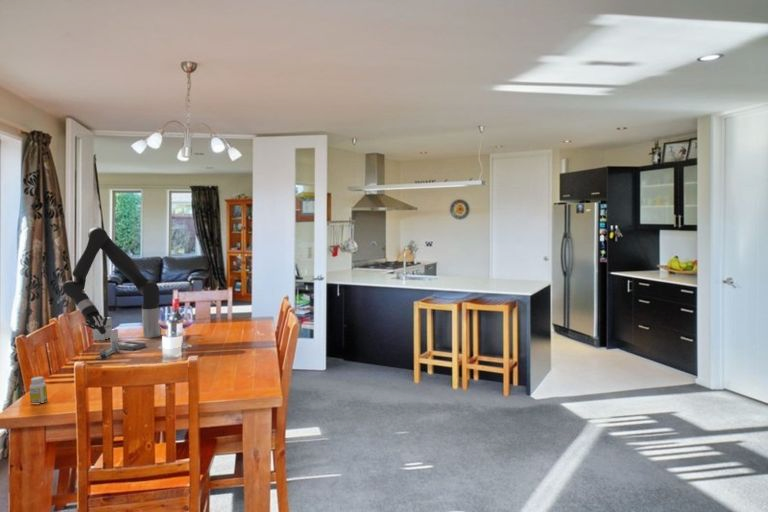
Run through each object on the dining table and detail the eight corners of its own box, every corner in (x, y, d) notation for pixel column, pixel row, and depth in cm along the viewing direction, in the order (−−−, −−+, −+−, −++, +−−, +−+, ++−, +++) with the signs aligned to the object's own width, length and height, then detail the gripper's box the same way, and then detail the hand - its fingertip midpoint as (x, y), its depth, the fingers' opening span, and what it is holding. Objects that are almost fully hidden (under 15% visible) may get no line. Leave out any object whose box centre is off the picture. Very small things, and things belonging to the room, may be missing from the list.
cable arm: (105, 357, 259) (103, 335, 258) (98, 357, 259) (96, 335, 258) (120, 350, 274) (118, 329, 273) (113, 350, 274) (112, 329, 273)
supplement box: (103, 340, 299) (102, 319, 298) (93, 340, 301) (91, 319, 300) (113, 338, 306) (111, 317, 306) (102, 337, 308) (101, 317, 307)
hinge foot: (104, 355, 264) (104, 355, 264) (112, 357, 262) (112, 356, 262) (93, 358, 259) (93, 358, 259) (101, 360, 256) (101, 359, 256)
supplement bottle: (43, 399, 199) (42, 375, 199) (50, 402, 196) (48, 377, 195) (28, 403, 195) (26, 378, 194) (34, 406, 192) (32, 381, 191)
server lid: (128, 344, 288) (128, 340, 288) (146, 346, 283) (145, 342, 282) (114, 348, 280) (113, 344, 280) (131, 350, 274) (131, 346, 274)
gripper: (79, 306, 272) (95, 331, 268) (102, 303, 284) (118, 326, 280) (73, 315, 275) (89, 340, 271) (96, 311, 287) (112, 335, 282)
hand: (104, 333), depth 275 cm, fingers closed
